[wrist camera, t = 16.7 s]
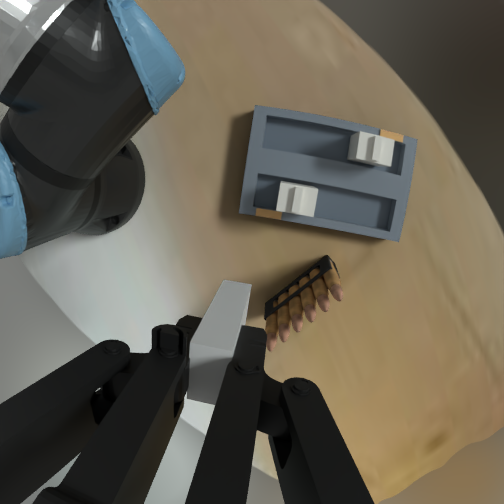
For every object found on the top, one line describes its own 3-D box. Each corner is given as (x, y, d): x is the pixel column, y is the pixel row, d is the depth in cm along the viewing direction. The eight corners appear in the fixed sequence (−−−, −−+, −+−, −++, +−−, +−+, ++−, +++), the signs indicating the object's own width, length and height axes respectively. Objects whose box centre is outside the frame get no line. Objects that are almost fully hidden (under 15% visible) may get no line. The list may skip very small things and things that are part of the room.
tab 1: (277, 205, 38) (275, 211, 33) (280, 180, 37) (280, 182, 32) (309, 210, 38) (313, 217, 33) (314, 186, 37) (319, 189, 32)
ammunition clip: (327, 254, 41) (342, 287, 29) (335, 264, 41) (353, 300, 29) (264, 303, 43) (257, 349, 32) (273, 312, 44) (269, 361, 32)
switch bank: (241, 210, 40) (238, 213, 38) (257, 109, 37) (254, 104, 34) (392, 237, 39) (399, 242, 36) (409, 140, 36) (418, 139, 33)
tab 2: (347, 159, 36) (357, 158, 31) (350, 135, 35) (361, 130, 30) (377, 166, 36) (392, 166, 30) (381, 143, 35) (396, 139, 30)
